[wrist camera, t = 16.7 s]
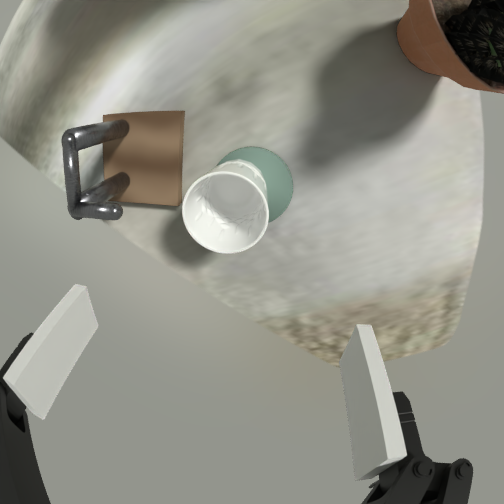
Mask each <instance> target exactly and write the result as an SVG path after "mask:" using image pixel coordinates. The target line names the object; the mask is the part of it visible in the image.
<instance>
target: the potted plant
mask: <svg viewBox="0 0 504 504" xmlns="http://www.w3.org/2000/svg"><path fill="white" fill-rule="evenodd" d="M397 38H398V43H399V45H400V47H401V49H402V51H403V53H404V54H405V56H406V57H407V58H408V59H409V61H410V62H411V63H413V64H414V65H415V66H416V67H417V68H419V69H421V70H423V71H425V72H427V73H431V74H436V75H440V76H444V77H448V78H450V79H452V80H453V81H455V82H457V83H458V84H460V85H461V86H463V87H467V88H472V89H476V90H483V91H491V92H496V93H502V94H504V0H409V8H408V10H407V11H406V13H405V14H404V16H403V17H402V19H401V20H400V22H399V24H398V25H397Z"/></svg>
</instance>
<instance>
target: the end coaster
mask: <svg viewBox="0 0 504 504" xmlns="http://www.w3.org/2000/svg"><path fill="white" fill-rule="evenodd" d="M236 159H241V160H245V161H248V162H251V163H253V164H254V165H255V166H256V167H257V168H258V169H260V170H261V172H262V175H263V177H264V179H265V182H266V187H267V194H268V208H269V220H268V223H269V222H271V221H273V220H275V219H276V218H278V217H279V216H280V215H281V214H282V213H283V212H284V211H285V210H286V208H287V207H288V205H289V203H290V201H291V198H292V193H293V181H292V177H291V174H290V171H289V169H288V167H287V165H286V164H285V163H284V161H283V160H282V159H281V158H280V157H278V156H277V155H276V154H274V153H273V152H271V151H269V150H267V149H263V148H259V147H244V148H240V149H237V150H235V151H233V152H231V153H229V154H228V155H226V156H225V157H224V158H223V159H222V160H221V161H220V162H219V164H218V165H220V164H223V163H224V162H226V161H230V160H236ZM218 165H217V166H218Z"/></svg>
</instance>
